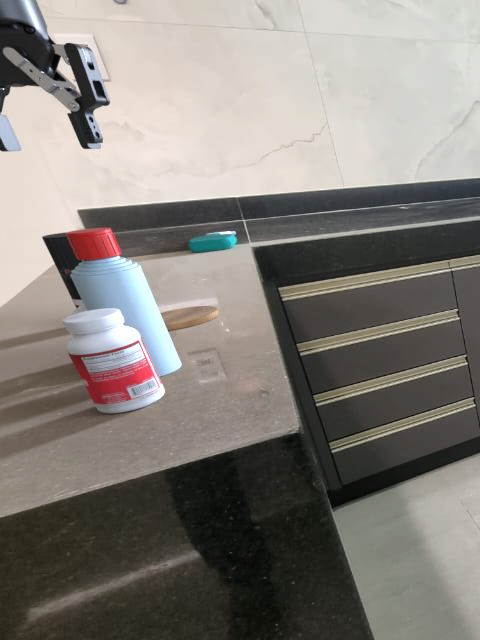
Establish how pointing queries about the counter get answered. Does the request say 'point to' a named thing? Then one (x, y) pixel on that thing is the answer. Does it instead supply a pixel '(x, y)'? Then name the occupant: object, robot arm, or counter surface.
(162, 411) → the counter surface
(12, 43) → the robot arm
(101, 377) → the pill bottle
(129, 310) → the bottle
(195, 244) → the teal soap bar
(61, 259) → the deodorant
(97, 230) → the cap
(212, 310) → the coaster
